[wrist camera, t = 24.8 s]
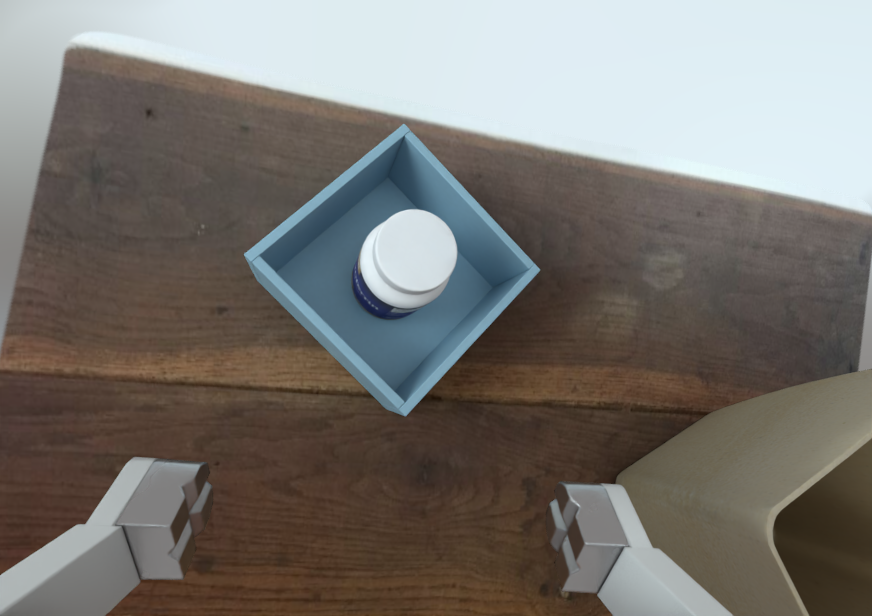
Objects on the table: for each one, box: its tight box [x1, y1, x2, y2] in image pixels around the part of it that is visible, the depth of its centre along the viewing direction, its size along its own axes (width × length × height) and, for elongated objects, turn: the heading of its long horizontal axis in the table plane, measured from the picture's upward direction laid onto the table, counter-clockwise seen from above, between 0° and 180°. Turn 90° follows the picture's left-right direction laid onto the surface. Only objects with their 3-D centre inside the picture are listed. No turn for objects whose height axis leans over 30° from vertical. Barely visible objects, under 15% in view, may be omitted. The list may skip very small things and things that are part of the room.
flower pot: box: [616, 369, 872, 616], centre depth 32 cm, size 19×19×17 cm
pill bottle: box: [351, 209, 457, 320], centre depth 30 cm, size 6×6×10 cm
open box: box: [244, 124, 540, 416], centre depth 32 cm, size 13×13×7 cm
